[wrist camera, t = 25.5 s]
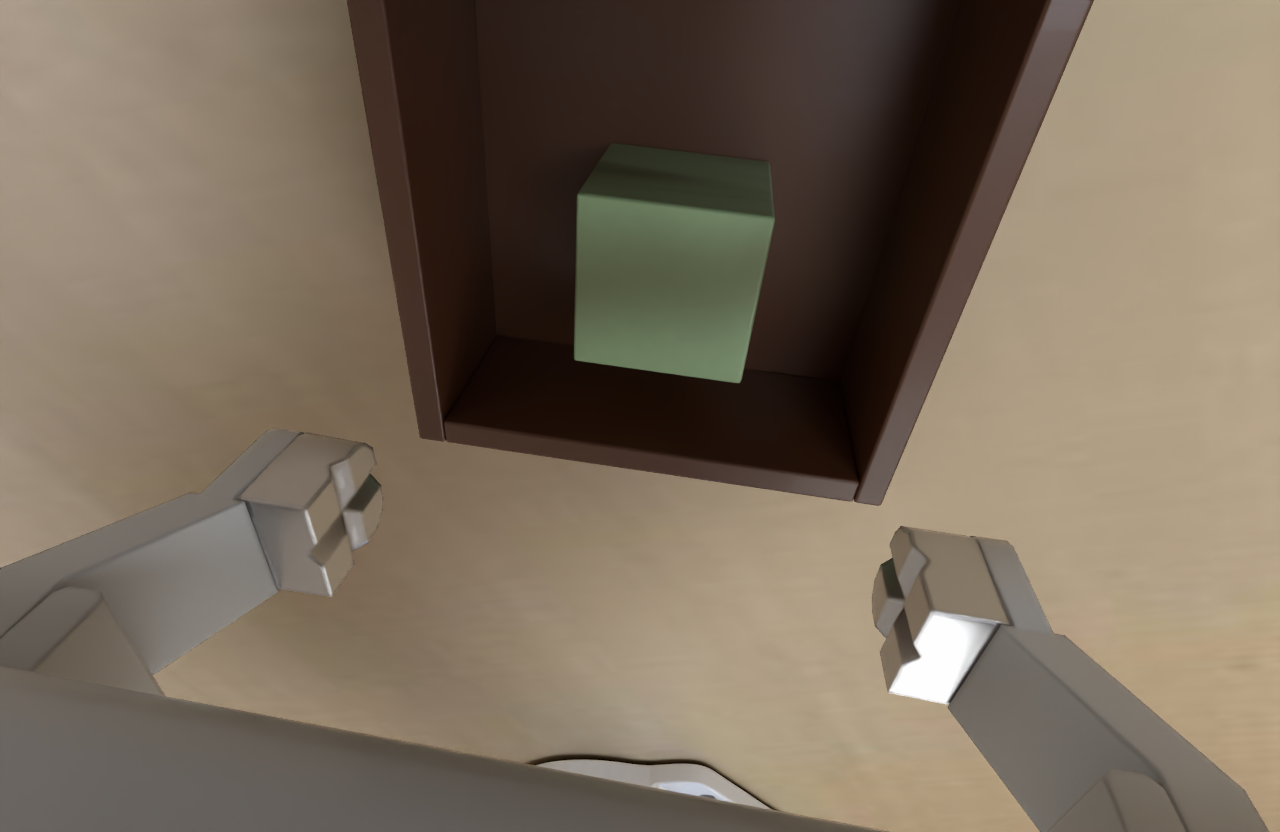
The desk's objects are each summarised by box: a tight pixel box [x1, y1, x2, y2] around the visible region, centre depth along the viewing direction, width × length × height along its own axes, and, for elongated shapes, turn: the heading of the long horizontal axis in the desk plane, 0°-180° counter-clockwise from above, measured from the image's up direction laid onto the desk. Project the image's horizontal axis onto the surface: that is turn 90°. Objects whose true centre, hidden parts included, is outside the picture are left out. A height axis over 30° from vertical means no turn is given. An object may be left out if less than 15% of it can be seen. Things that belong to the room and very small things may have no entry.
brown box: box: [347, 0, 1094, 506], centre depth 14 cm, size 16×12×5 cm
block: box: [574, 143, 775, 383], centre depth 16 cm, size 4×4×4 cm
